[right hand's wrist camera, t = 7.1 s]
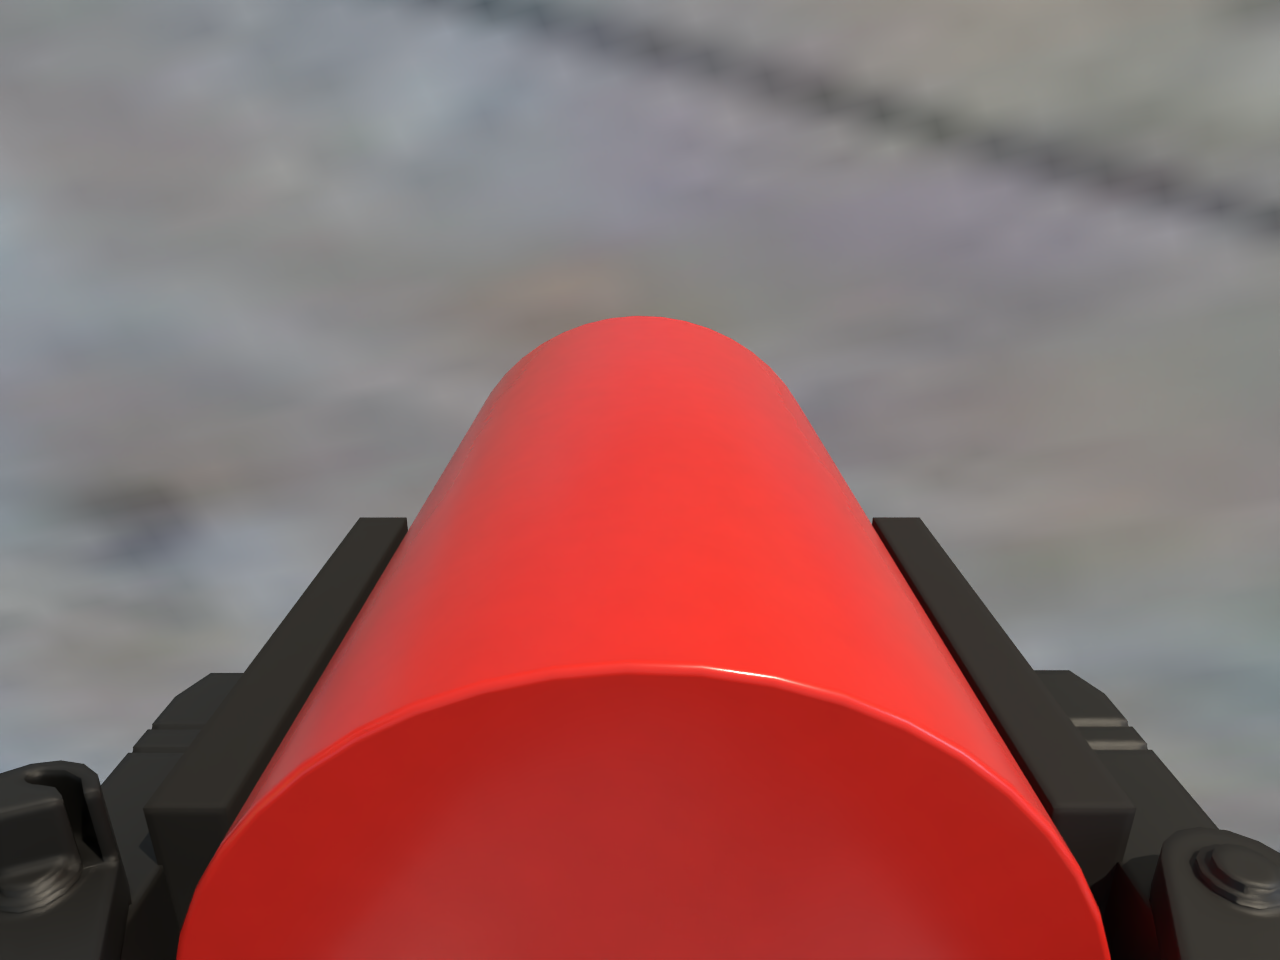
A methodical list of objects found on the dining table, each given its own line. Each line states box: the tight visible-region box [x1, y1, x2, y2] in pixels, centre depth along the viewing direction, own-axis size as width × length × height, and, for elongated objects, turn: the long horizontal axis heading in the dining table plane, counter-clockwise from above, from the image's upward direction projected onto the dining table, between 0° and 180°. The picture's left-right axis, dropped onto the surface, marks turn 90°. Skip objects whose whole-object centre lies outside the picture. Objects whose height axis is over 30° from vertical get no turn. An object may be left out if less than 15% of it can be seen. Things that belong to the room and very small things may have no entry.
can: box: [176, 316, 1111, 960], centre depth 13 cm, size 8×8×12 cm
